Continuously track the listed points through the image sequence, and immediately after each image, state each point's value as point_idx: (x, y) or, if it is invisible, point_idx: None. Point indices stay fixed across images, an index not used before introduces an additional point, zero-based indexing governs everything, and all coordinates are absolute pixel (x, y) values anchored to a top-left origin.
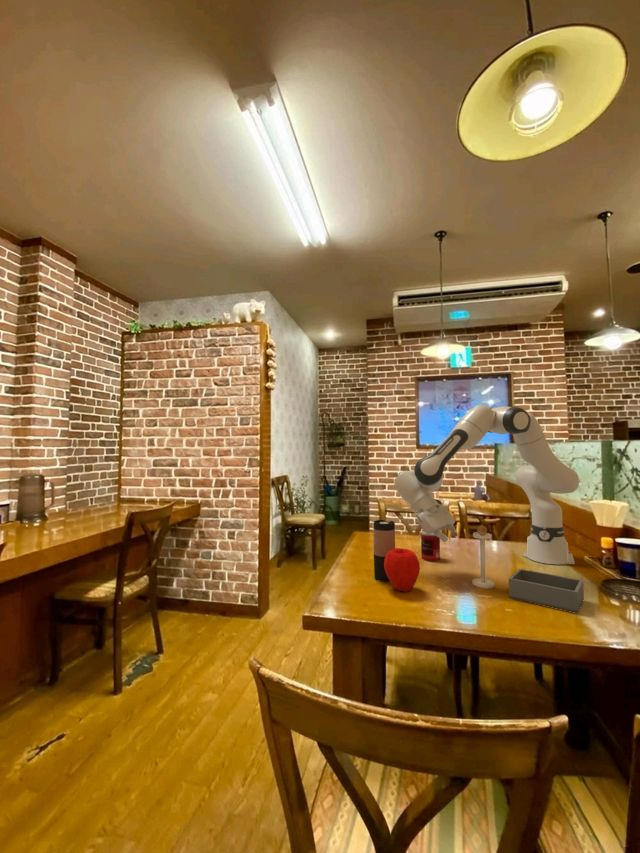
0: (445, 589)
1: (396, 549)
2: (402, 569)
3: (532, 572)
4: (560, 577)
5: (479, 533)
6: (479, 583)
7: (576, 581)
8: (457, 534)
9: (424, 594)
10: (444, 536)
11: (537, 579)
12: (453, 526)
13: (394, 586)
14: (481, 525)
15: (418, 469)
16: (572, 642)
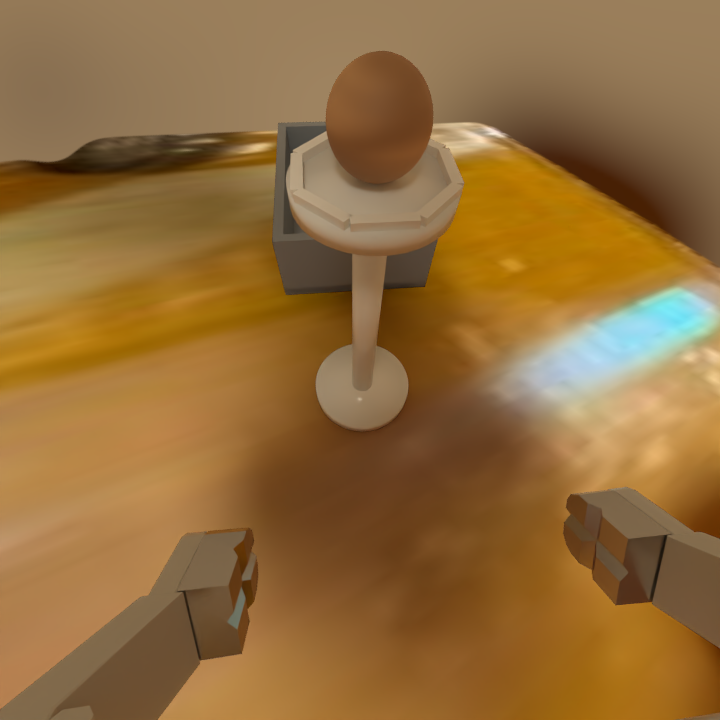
0: (553, 481)
1: None
2: None
3: (284, 209)
4: (284, 156)
5: (412, 166)
6: (393, 385)
7: (286, 136)
8: (231, 529)
9: (699, 521)
10: (676, 522)
11: (288, 218)
12: (37, 705)
13: None
14: (381, 59)
15: None
16: (547, 164)
